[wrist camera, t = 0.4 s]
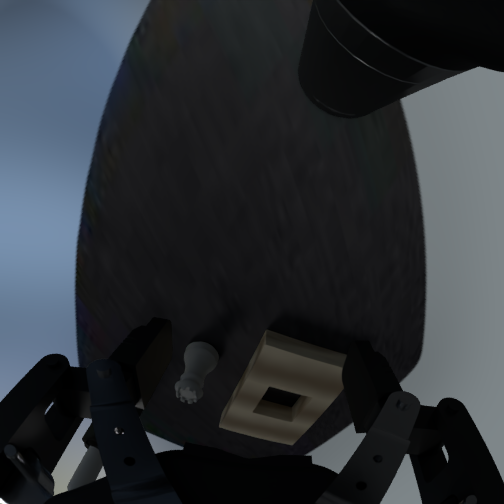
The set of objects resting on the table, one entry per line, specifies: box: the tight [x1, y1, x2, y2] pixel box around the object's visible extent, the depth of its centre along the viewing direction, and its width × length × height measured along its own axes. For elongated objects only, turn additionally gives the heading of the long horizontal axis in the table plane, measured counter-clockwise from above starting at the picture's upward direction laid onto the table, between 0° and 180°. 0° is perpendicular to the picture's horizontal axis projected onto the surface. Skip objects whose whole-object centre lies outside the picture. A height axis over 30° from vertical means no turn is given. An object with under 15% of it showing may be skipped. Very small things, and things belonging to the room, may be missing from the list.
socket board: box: [219, 329, 347, 445], centre depth 34 cm, size 18×12×3 cm, turn 159°
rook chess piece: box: [175, 341, 219, 403], centre depth 30 cm, size 4×4×8 cm
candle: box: [67, 407, 143, 491], centre depth 27 cm, size 5×5×25 cm
